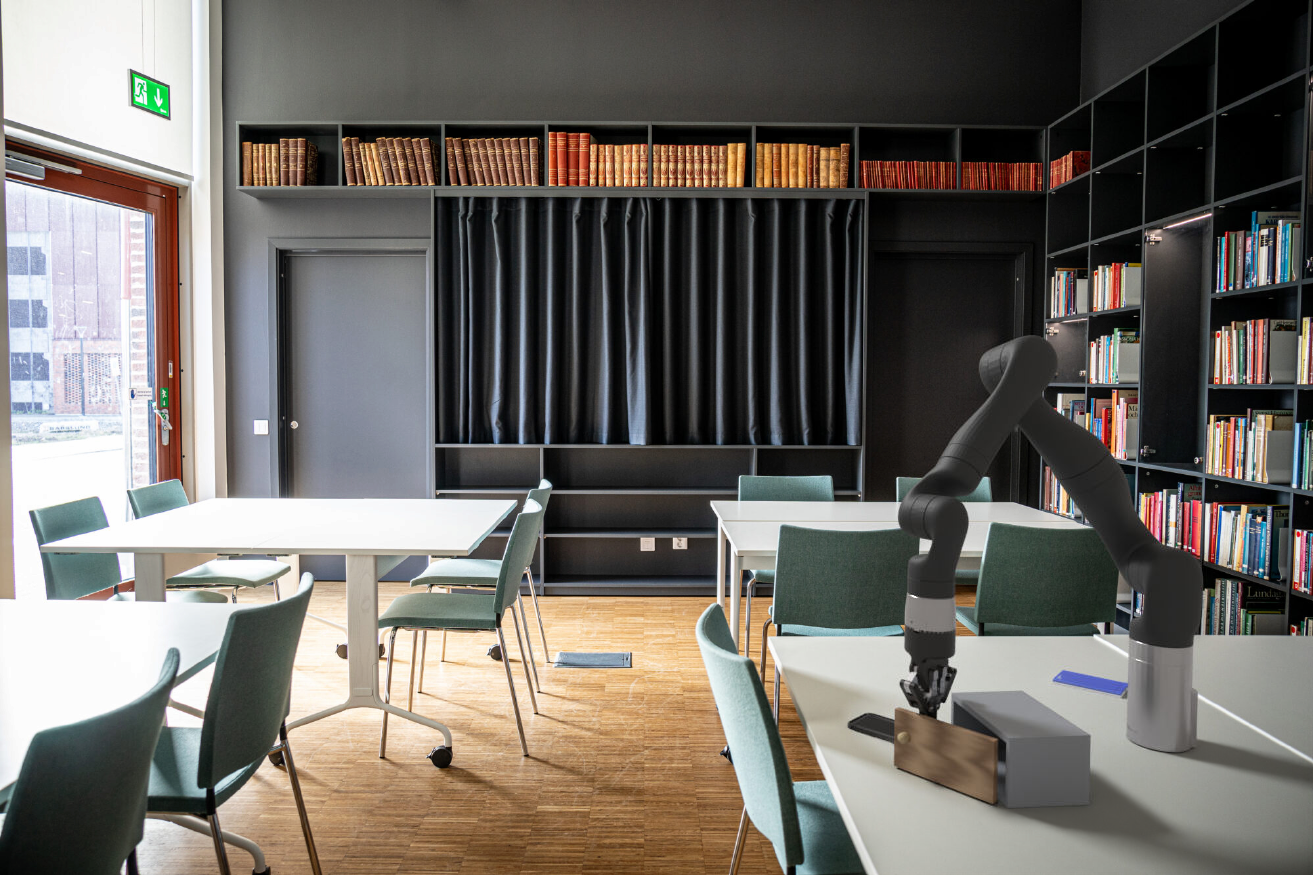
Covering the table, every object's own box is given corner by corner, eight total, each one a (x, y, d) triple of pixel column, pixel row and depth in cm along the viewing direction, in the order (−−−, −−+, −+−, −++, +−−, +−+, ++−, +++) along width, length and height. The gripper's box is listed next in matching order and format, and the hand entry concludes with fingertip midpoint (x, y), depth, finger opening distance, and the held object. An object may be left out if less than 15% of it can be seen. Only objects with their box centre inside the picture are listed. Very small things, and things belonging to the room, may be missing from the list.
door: (997, 801, 115) (998, 739, 114) (989, 806, 113) (990, 743, 113) (898, 763, 127) (899, 707, 127) (890, 767, 126) (891, 710, 125)
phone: (868, 711, 147) (947, 735, 137) (868, 717, 147) (946, 741, 137) (844, 723, 142) (924, 749, 131) (844, 729, 142) (924, 755, 131)
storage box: (1020, 750, 132) (1022, 690, 132) (1089, 804, 115) (1090, 735, 114) (950, 753, 131) (951, 692, 131) (1008, 808, 114) (1009, 738, 113)
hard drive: (1052, 678, 165) (1121, 693, 156) (1063, 669, 171) (1130, 682, 163) (1052, 686, 165) (1120, 701, 157) (1062, 676, 171) (1129, 690, 163)
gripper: (931, 611, 132) (929, 715, 133) (884, 624, 124) (882, 736, 125) (975, 621, 127) (972, 729, 127) (928, 636, 118) (925, 752, 119)
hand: (927, 732), depth 126 cm, fingers closed
